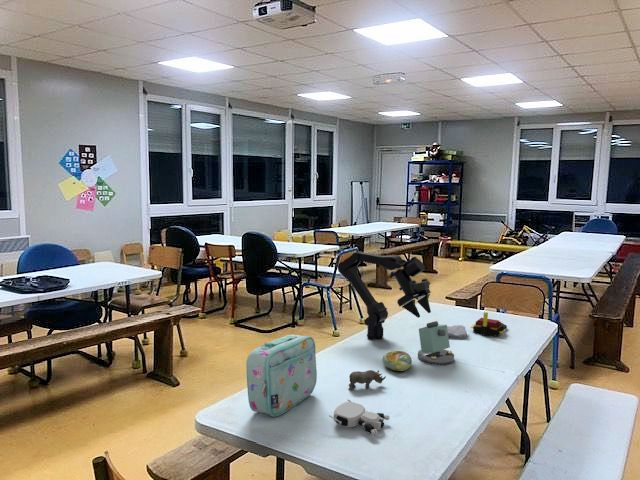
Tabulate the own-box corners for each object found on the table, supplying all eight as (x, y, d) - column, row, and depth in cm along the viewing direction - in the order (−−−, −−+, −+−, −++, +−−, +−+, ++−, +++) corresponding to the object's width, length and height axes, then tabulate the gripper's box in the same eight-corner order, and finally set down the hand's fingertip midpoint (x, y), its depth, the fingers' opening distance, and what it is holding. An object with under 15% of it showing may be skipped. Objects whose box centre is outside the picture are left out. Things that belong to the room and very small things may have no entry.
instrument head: (421, 351, 199) (417, 324, 200) (437, 346, 206) (434, 319, 206) (437, 353, 193) (434, 324, 194) (453, 347, 199) (450, 320, 200)
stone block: (468, 343, 226) (464, 332, 235) (468, 333, 224) (465, 323, 234) (441, 343, 227) (438, 332, 237) (441, 333, 226) (438, 322, 235)
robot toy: (391, 425, 149) (345, 410, 156) (392, 411, 148) (346, 396, 155) (374, 444, 138) (326, 427, 145) (376, 429, 137) (327, 412, 144)
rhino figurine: (388, 387, 173) (388, 370, 172) (349, 391, 170) (350, 374, 169) (383, 382, 177) (383, 366, 176) (346, 386, 174) (346, 369, 173)
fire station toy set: (467, 333, 234) (468, 310, 233) (481, 323, 250) (482, 301, 249) (500, 339, 226) (501, 315, 224) (511, 329, 242) (513, 306, 241)
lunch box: (270, 425, 146) (270, 354, 143) (243, 416, 151) (242, 347, 149) (319, 392, 168) (320, 330, 166) (294, 386, 174) (294, 325, 171)
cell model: (414, 354, 198) (414, 353, 184) (408, 374, 197) (408, 374, 182) (387, 346, 201) (385, 344, 186) (381, 366, 199) (379, 365, 185)
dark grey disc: (410, 357, 202) (410, 350, 201) (433, 350, 210) (433, 343, 210) (438, 368, 191) (439, 361, 190) (461, 360, 199) (461, 353, 199)
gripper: (408, 276, 202) (428, 310, 198) (430, 269, 217) (449, 301, 212) (388, 289, 209) (407, 323, 204) (411, 282, 223) (429, 313, 219)
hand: (424, 314), depth 210 cm, fingers open, 9 cm apart
